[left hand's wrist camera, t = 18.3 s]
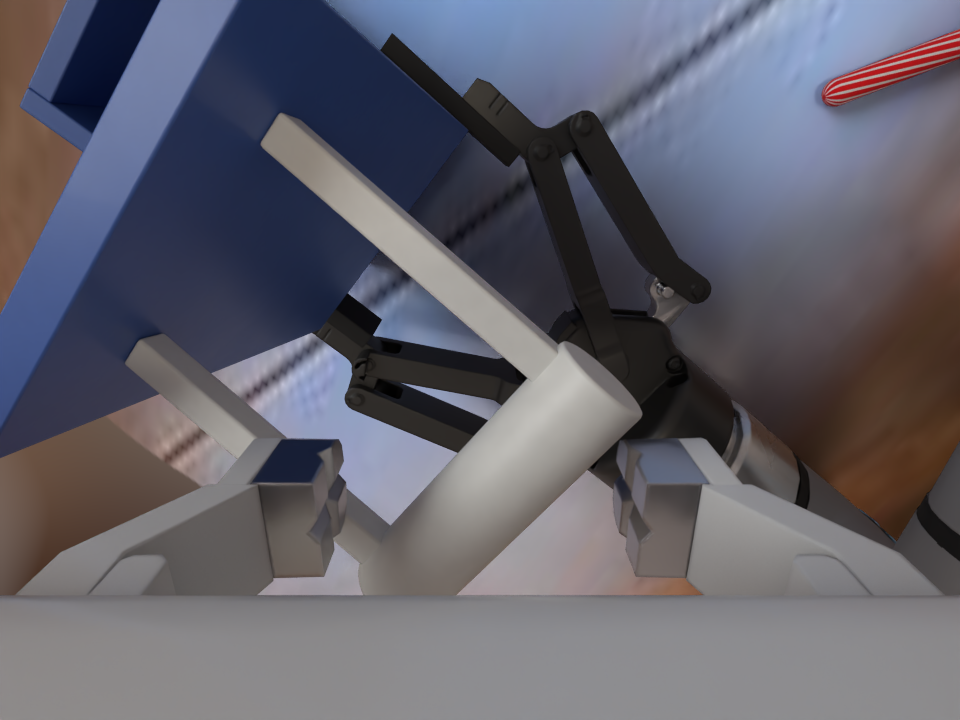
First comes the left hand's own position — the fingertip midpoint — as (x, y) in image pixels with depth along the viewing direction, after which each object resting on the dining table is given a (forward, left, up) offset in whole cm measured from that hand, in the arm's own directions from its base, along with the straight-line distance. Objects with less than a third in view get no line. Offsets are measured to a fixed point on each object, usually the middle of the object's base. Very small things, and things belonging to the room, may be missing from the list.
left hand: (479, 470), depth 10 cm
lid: (+4, -5, -6) cm, 9 cm away
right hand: (+6, -7, -16) cm, 18 cm away
